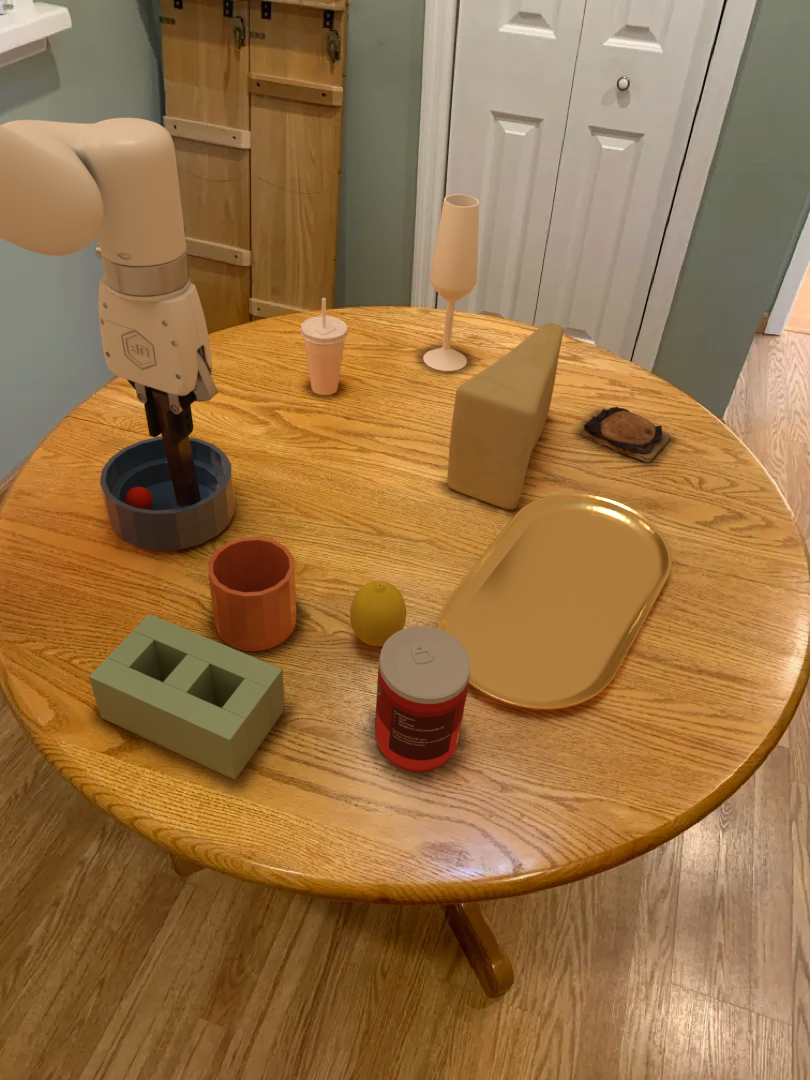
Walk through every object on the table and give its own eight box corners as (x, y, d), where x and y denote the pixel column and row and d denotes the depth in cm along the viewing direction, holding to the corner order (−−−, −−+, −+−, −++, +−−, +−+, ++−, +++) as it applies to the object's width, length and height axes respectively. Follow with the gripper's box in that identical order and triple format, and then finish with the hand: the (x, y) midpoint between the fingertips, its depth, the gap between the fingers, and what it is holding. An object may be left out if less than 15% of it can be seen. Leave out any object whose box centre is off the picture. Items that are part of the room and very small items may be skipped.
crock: (215, 654, 83) (207, 598, 78) (215, 595, 89) (208, 539, 84) (298, 648, 85) (296, 592, 79) (293, 590, 91) (291, 534, 85)
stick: (191, 510, 97) (167, 396, 85) (177, 505, 97) (151, 391, 86) (201, 500, 98) (179, 386, 87) (187, 494, 99) (163, 380, 87)
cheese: (509, 405, 120) (525, 308, 110) (573, 426, 117) (596, 328, 107) (441, 488, 105) (453, 384, 95) (513, 514, 102) (534, 410, 92)
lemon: (386, 670, 83) (390, 614, 78) (339, 647, 85) (339, 591, 80) (413, 634, 87) (419, 579, 82) (367, 613, 89) (369, 558, 83)
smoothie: (299, 398, 118) (296, 306, 109) (305, 374, 123) (303, 284, 114) (344, 402, 118) (346, 309, 109) (348, 378, 123) (350, 287, 114)
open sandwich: (672, 439, 117) (680, 417, 114) (647, 466, 111) (654, 444, 109) (603, 410, 121) (609, 388, 119) (575, 435, 116) (581, 412, 113)
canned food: (422, 690, 82) (432, 612, 74) (475, 748, 77) (491, 672, 70) (356, 726, 78) (360, 648, 71) (408, 790, 73) (417, 714, 66)
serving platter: (402, 661, 84) (403, 651, 83) (545, 484, 107) (547, 474, 106) (576, 750, 78) (579, 740, 77) (689, 541, 101) (692, 531, 100)
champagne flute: (437, 374, 125) (453, 212, 109) (415, 353, 130) (427, 194, 114) (475, 365, 128) (496, 206, 112) (452, 345, 132) (469, 188, 116)
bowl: (103, 558, 92) (93, 517, 88) (115, 478, 103) (107, 438, 99) (235, 550, 95) (231, 509, 91) (234, 473, 105) (230, 433, 101)
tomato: (143, 522, 97) (118, 510, 96) (149, 504, 99) (125, 492, 98) (153, 506, 95) (128, 495, 94) (159, 489, 98) (135, 477, 96)
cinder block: (235, 780, 73) (229, 740, 69) (100, 717, 77) (88, 676, 73) (285, 709, 79) (282, 668, 75) (157, 655, 83) (148, 613, 79)
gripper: (49, 263, 77) (88, 430, 90) (195, 306, 73) (214, 475, 85) (103, 235, 82) (133, 397, 95) (243, 274, 78) (254, 437, 90)
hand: (171, 432), depth 90 cm, fingers closed on stick, 2 cm apart
